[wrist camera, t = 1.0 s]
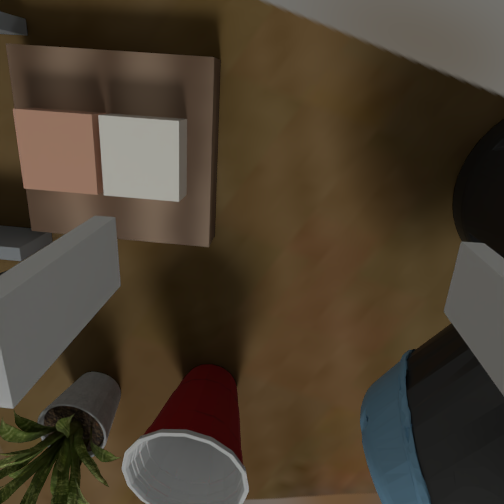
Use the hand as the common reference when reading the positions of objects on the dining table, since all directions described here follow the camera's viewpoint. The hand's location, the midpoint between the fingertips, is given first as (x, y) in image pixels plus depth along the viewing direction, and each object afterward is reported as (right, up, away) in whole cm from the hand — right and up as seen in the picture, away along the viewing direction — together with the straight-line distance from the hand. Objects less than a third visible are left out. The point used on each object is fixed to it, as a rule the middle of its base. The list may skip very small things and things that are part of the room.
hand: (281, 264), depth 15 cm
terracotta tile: (-16, +9, +19) cm, 26 cm away
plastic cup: (-6, -14, +30) cm, 34 cm away
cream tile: (-9, +8, +18) cm, 22 cm away
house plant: (-20, -15, +32) cm, 40 cm away
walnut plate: (-12, +10, +21) cm, 26 cm away
